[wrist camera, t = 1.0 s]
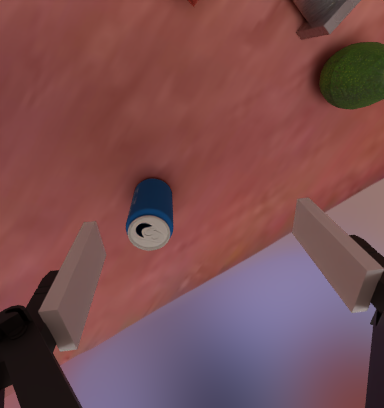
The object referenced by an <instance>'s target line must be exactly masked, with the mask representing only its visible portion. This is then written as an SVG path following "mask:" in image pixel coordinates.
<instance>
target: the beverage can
mask: <svg viewBox="0 0 384 408" xmlns="http://www.w3.org/2000/svg"><path fill="white" fill-rule="evenodd" d="M126 232H127V235H128V237H129V240H130V241H131V243H132V244H133V245H134V246H136V247H138V248H140V249H143V250H156V249H159V248H161V247H163V246H164V245H165V244H166V243H167V242H168V240H169V239H170V237H171V235H172V233H173V205H172V192H171V189H170V187H169V186H168V185H167V184H166V183H165V182H164V181H162V180H159V179H154V178H153V179H146V180H144V181H142V182H140V183H139V184H138V185H137V187H136V189H135V191H134V195H133V199H132V203H131V207H130V211H129V215H128V218H127V222H126Z"/></svg>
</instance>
